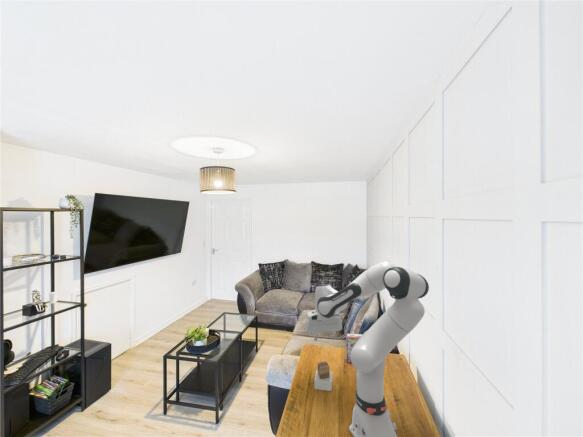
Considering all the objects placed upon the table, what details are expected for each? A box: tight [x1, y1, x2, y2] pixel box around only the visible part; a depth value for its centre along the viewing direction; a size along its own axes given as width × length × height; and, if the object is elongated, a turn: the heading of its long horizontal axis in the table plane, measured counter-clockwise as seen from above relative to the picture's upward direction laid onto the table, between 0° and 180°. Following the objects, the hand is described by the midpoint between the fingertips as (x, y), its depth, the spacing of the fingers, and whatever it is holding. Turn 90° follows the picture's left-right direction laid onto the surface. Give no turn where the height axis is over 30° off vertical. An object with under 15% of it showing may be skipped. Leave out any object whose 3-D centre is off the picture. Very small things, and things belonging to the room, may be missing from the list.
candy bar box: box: [345, 333, 363, 364], centre depth 154 cm, size 11×5×16 cm, turn 84°
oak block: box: [317, 361, 331, 379], centre depth 133 cm, size 5×5×6 cm
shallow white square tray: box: [313, 369, 333, 392], centre depth 133 cm, size 9×9×5 cm
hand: (323, 339), depth 133 cm, fingers open, 8 cm apart
